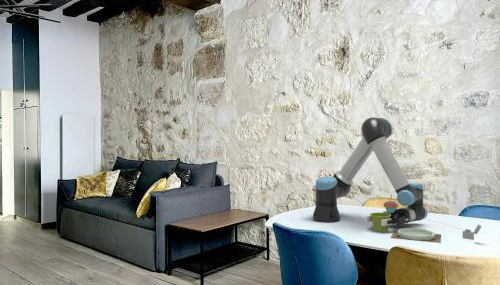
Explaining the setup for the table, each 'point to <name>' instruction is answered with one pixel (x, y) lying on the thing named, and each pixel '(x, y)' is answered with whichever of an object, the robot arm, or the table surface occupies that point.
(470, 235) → the lighter
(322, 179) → the robot arm
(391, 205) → the cupcake
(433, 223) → the table surface
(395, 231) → the walnut board
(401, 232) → the saucer
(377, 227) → the plant pot
